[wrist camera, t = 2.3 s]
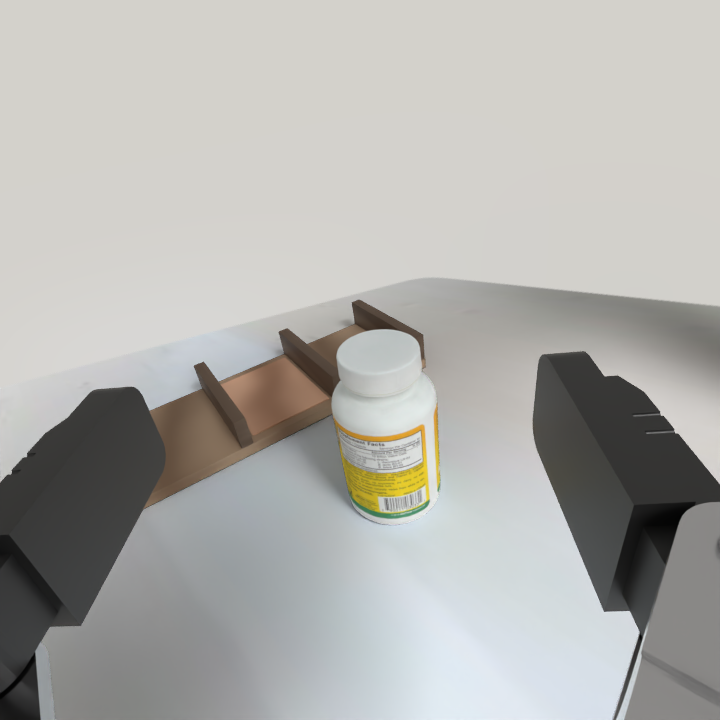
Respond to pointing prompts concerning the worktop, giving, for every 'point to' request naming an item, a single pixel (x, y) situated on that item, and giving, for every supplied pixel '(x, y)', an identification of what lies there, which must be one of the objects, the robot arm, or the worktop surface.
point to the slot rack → (255, 404)
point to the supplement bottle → (387, 427)
